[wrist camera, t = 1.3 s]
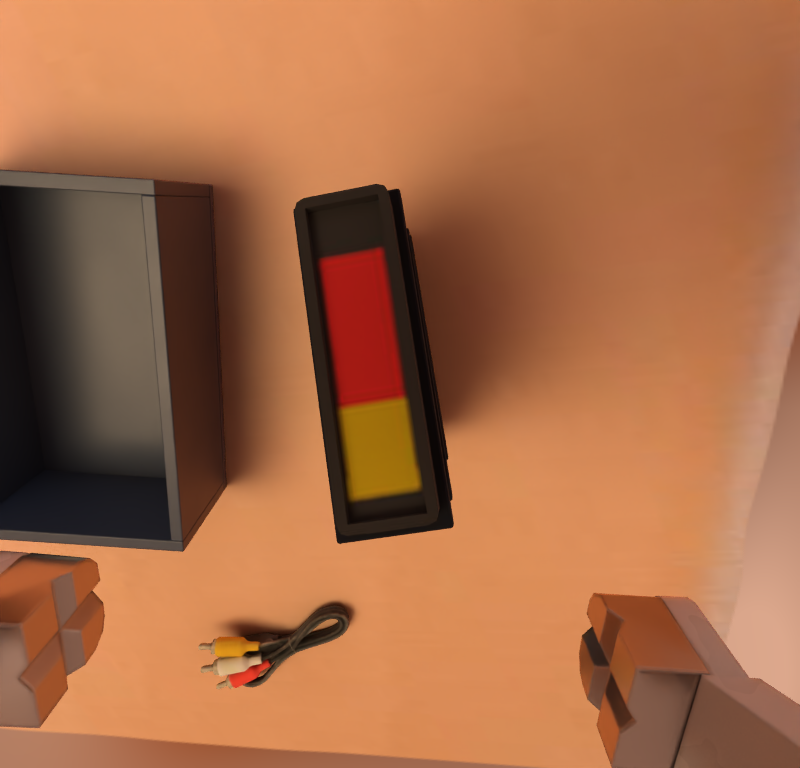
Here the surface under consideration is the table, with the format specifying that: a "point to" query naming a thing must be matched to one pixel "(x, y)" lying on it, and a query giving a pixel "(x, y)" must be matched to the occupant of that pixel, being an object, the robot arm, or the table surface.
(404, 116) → the table surface
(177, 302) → the box
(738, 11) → the table surface
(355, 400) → the magazine
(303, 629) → the composite cable
